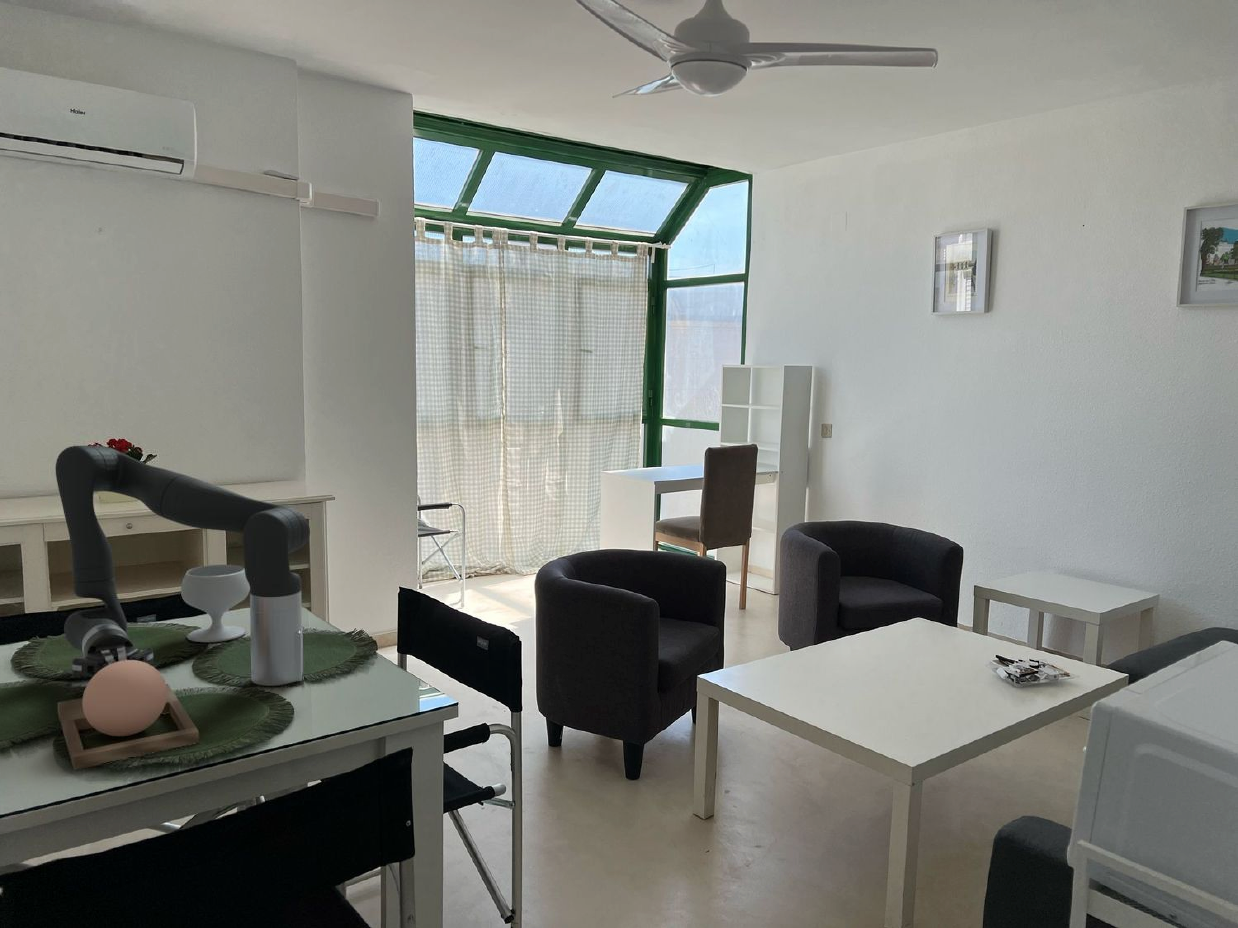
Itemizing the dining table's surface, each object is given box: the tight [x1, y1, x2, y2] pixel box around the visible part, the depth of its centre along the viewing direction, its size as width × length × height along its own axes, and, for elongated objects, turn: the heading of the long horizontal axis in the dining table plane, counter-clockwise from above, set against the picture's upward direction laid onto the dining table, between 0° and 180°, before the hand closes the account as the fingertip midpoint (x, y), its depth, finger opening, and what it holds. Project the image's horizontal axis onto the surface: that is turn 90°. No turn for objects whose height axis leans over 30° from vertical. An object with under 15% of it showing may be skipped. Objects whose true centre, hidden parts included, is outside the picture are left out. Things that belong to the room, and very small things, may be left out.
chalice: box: [180, 564, 250, 643], centre depth 194 cm, size 14×14×15 cm
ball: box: [82, 660, 167, 737], centre depth 141 cm, size 12×12×12 cm
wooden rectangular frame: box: [57, 683, 200, 771], centre depth 143 cm, size 17×26×2 cm, turn 37°
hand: (121, 674), depth 146 cm, fingers closed
